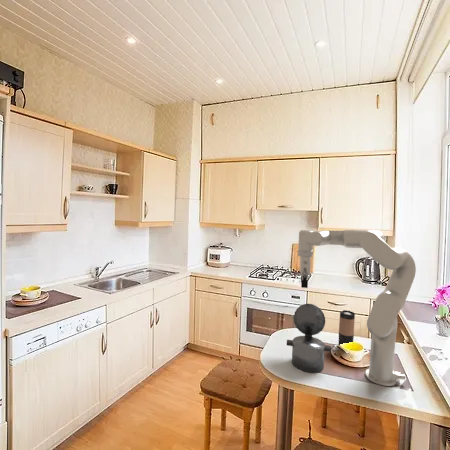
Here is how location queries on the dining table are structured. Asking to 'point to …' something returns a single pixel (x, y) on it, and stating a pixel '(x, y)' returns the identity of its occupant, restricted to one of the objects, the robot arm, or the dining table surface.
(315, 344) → the cooker pot
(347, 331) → the travel mug
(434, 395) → the dining table surface
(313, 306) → the lid
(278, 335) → the dining table surface
